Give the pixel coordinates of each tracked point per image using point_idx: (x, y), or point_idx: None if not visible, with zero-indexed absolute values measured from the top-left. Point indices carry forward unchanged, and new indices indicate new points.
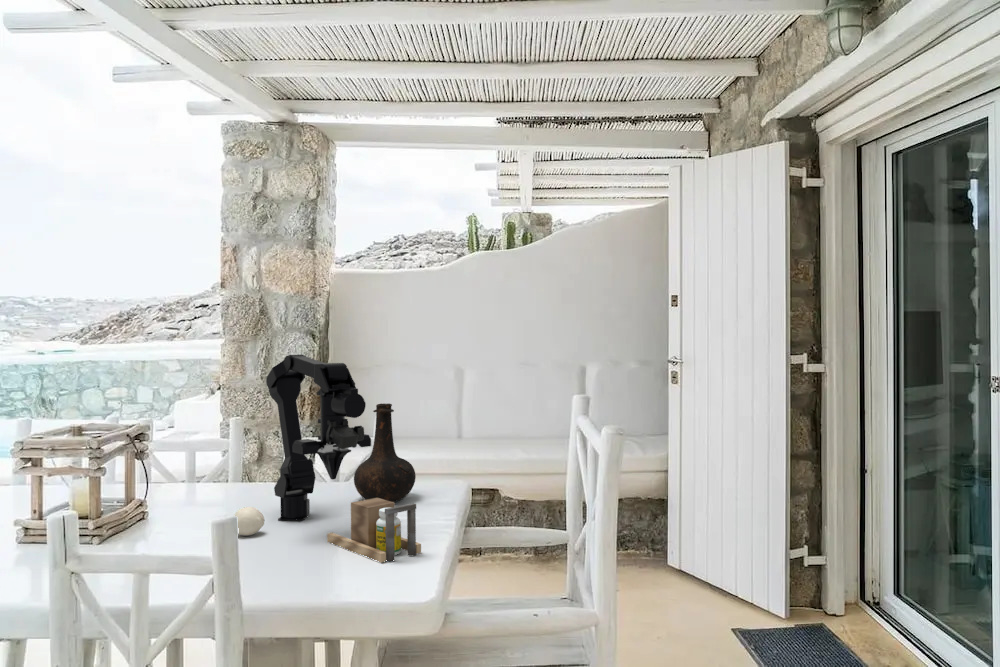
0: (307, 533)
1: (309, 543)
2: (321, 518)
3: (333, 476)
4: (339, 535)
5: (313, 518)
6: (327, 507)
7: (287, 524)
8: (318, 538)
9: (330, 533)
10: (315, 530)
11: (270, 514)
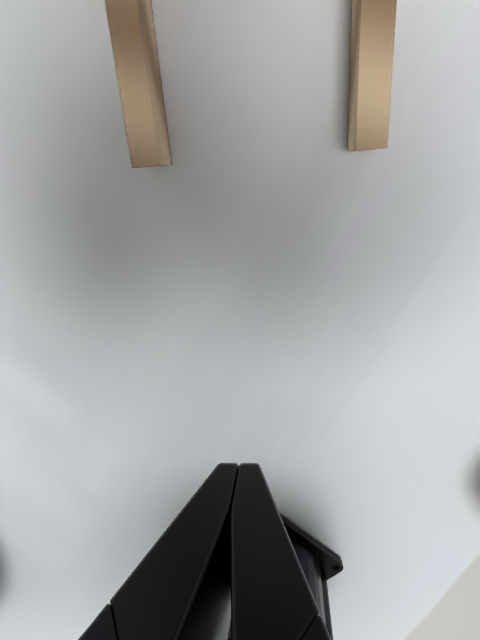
0: (356, 355)
1: (451, 193)
2: None
3: (249, 482)
4: (362, 45)
5: None
6: None
7: (340, 510)
8: (367, 247)
9: (373, 136)
10: (304, 373)
11: None
